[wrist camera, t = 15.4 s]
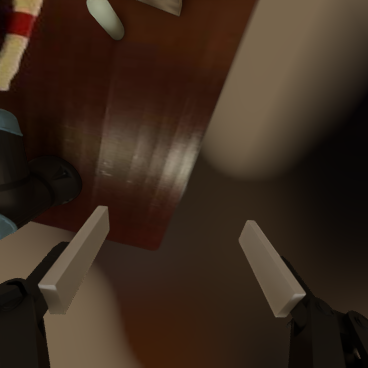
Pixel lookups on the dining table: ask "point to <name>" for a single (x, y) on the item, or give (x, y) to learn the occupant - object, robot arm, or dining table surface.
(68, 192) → the robot arm
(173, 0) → the beige hollow block
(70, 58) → the dining table surface
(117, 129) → the dining table surface
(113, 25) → the short pin
